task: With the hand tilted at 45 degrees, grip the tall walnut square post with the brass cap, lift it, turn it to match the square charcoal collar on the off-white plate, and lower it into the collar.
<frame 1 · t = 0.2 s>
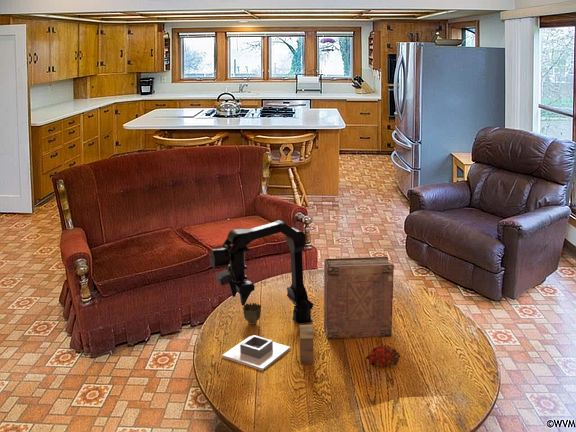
hand: (238, 300, 228), 15 cm above the table, tool pointing down, fingers open, 9 cm apart
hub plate: (256, 353, 218), on the table
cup: (252, 324, 241), on the table
book: (357, 333, 233), on the table
walnut post: (306, 360, 213), on the table
dragon fruit: (382, 367, 208), on the table
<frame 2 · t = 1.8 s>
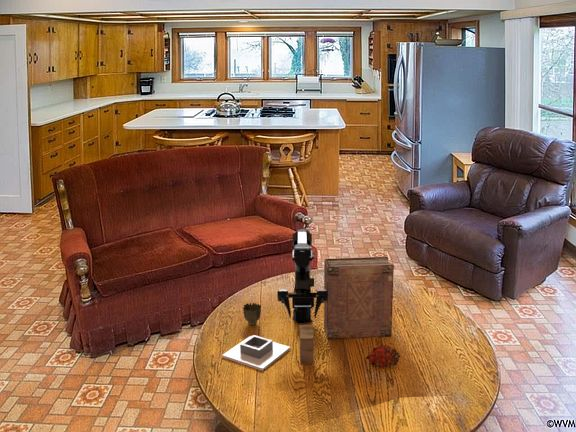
hand: (302, 317, 216), 13 cm above the table, tool tilted 45°, fingers open, 9 cm apart
nothing on the table moved.
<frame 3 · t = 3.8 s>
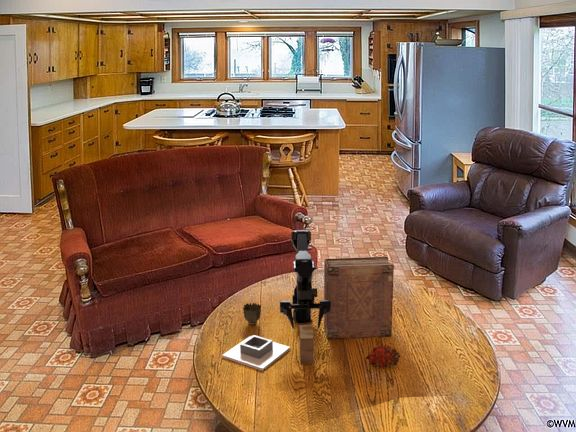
hand: (306, 328, 213), 11 cm above the table, tool tilted 45°, fingers open, 9 cm apart
nothing on the table moved.
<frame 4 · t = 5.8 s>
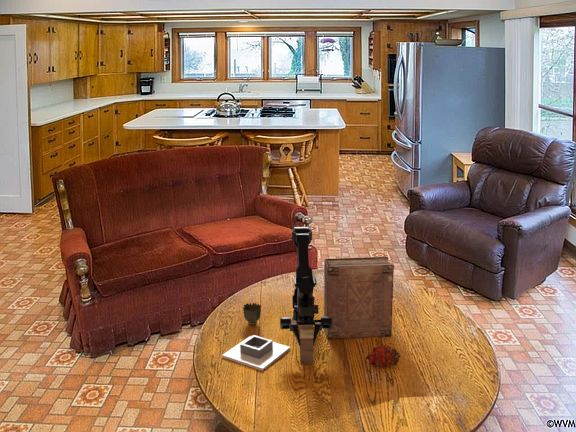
hand: (306, 345, 209), 7 cm above the table, tool tilted 45°, fingers closed on walnut post, 5 cm apart
walnut post: (306, 360, 213), on the table, touching gripper
everything else where it was.
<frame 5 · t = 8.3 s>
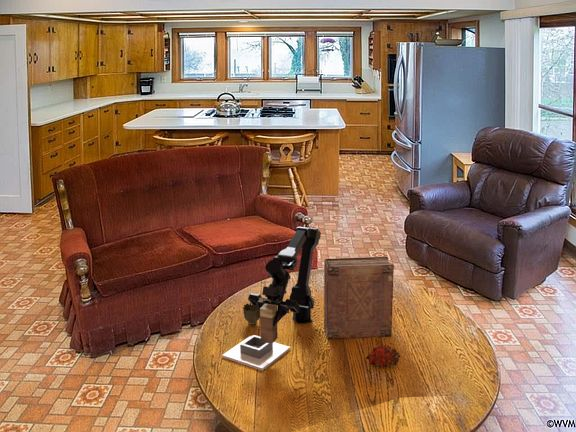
hand: (267, 324, 211), 13 cm above the table, tool tilted 45°, fingers closed on walnut post, 5 cm apart
walnut post: (269, 339, 214), point 7 cm above the table, touching gripper
everything else where it was.
when the fingers open (9 cm above the table, at t = 10.9 s): walnut post drops 1 cm, resting on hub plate.
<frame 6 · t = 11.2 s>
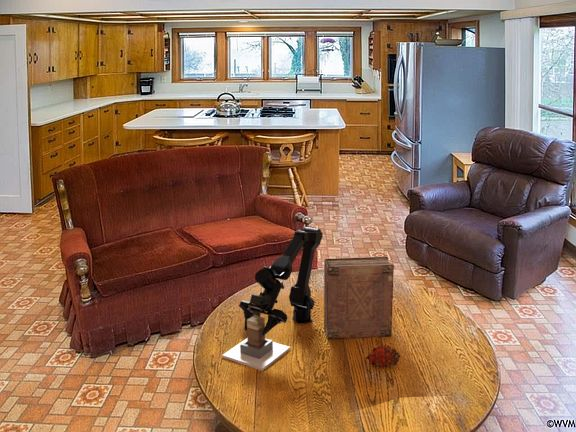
hand: (254, 332, 214), 9 cm above the table, tool tilted 45°, fingers open, 8 cm apart
walnut post: (256, 350, 218), point 1 cm above the table, touching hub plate
everything else where it was.
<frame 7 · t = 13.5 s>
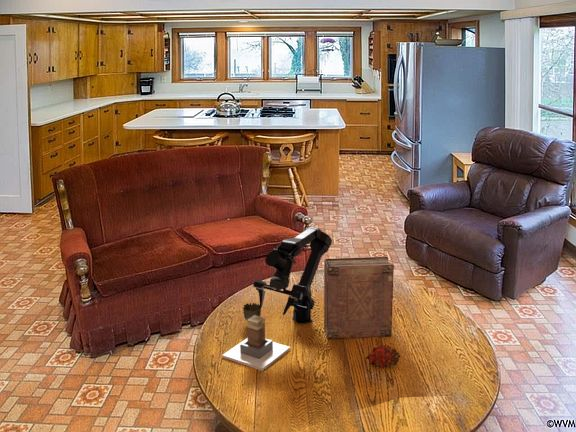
hand: (271, 311, 223), 13 cm above the table, tool tilted 30°, fingers open, 9 cm apart
nothing on the table moved.
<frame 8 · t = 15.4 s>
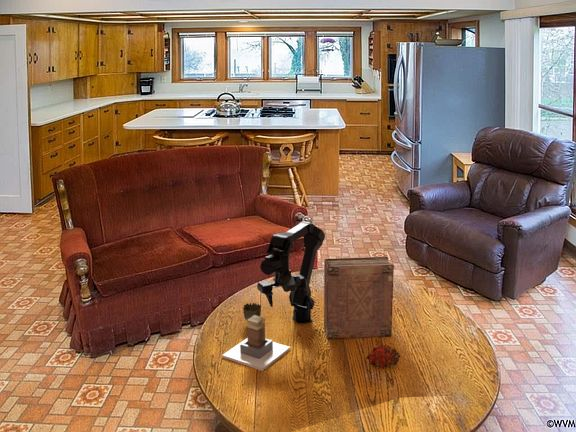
hand: (282, 304, 228), 13 cm above the table, tool pointing down, fingers open, 9 cm apart
nothing on the table moved.
at the end: walnut post 0.0 cm off-centre on the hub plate, point 1.0 cm above the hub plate's base; walnut post tilted 0°; the gripper is holding nothing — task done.
